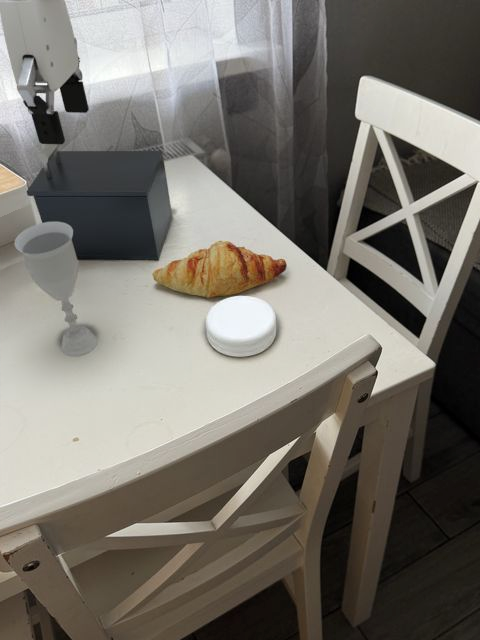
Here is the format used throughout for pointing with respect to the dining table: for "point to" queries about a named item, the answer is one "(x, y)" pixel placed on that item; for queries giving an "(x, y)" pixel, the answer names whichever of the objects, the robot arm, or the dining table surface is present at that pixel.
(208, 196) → the dining table surface
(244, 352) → the white short cylinder
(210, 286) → the croissant
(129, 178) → the lid
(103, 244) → the dark grey box
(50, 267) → the chalice
